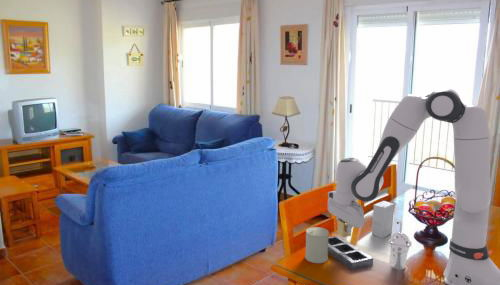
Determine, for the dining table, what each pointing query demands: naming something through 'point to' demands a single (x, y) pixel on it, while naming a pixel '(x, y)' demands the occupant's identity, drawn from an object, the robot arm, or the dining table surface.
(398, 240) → the cup with straw
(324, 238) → the can
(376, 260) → the dining table surface
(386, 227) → the skincare box
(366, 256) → the grey compartment tray
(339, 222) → the pale yellow upright block
